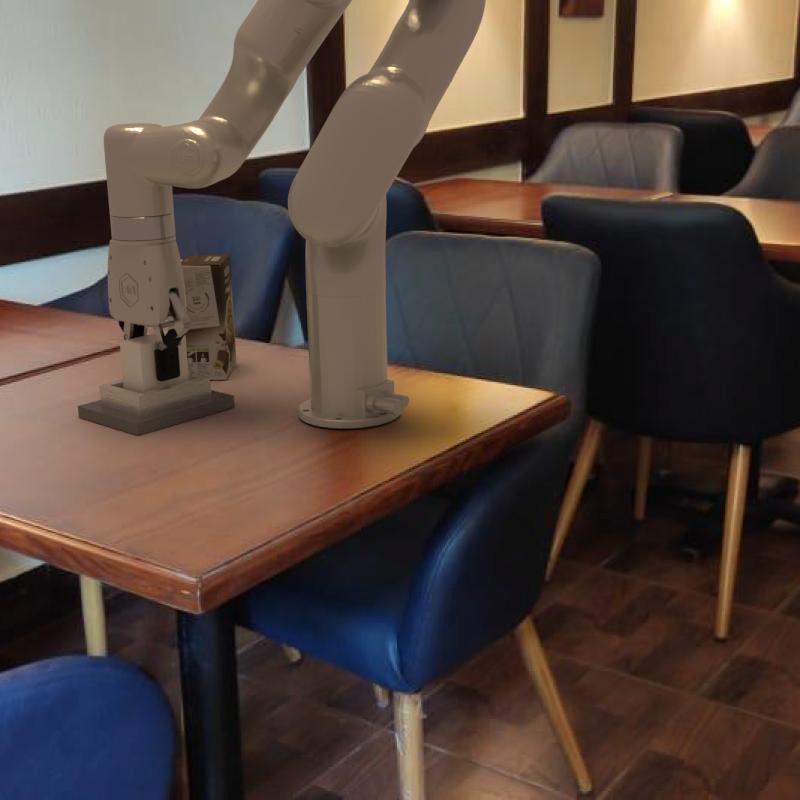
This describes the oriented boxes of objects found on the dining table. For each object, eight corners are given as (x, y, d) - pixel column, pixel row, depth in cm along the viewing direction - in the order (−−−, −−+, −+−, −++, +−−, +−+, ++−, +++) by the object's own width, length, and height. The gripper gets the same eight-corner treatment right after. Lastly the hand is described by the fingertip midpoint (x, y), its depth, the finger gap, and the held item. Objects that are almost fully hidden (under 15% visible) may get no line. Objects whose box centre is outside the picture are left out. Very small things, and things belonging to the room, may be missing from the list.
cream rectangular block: (145, 410, 147) (140, 346, 144) (125, 404, 149) (119, 341, 147) (189, 397, 152) (185, 335, 149) (169, 391, 154) (165, 331, 152)
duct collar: (234, 407, 152) (232, 376, 151) (137, 435, 142) (135, 403, 140) (174, 391, 160) (172, 362, 159) (78, 417, 149) (75, 386, 148)
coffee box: (228, 380, 165) (221, 264, 160) (181, 381, 165) (173, 264, 161) (238, 364, 174) (231, 253, 169) (193, 364, 174) (186, 253, 169)
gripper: (75, 227, 147) (89, 371, 152) (162, 238, 136) (173, 393, 141) (126, 220, 152) (137, 359, 158) (213, 230, 142) (222, 380, 147)
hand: (154, 374), depth 149 cm, fingers open, 4 cm apart
